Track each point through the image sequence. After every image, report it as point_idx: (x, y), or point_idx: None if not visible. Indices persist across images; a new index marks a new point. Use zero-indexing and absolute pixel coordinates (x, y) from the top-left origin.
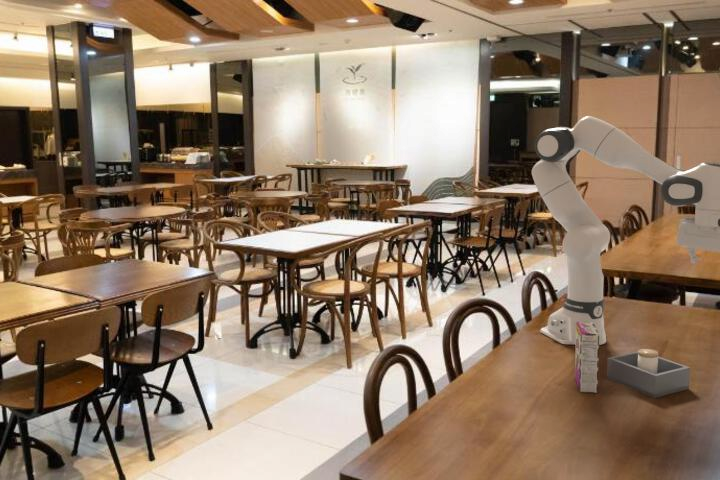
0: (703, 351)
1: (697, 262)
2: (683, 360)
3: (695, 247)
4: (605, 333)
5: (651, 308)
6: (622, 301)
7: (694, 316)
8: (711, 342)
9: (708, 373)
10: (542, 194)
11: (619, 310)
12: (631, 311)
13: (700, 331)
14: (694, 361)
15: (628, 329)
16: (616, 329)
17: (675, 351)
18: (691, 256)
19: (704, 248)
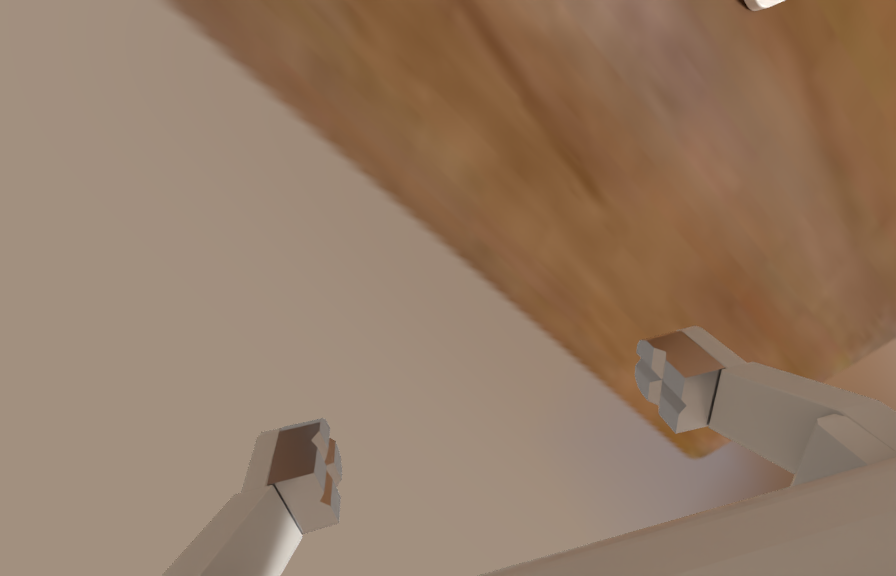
0: (471, 231)
1: (638, 374)
2: (421, 96)
3: (811, 498)
4: (756, 2)
5: (800, 353)
6: (888, 325)
7: None
8: (524, 307)
9: (275, 75)
10: None
11: (856, 265)
12: (826, 290)
13: (604, 342)
14: (400, 127)
15: (738, 158)
16: (765, 117)
17: (506, 143)
18: (740, 370)
19: (611, 567)
